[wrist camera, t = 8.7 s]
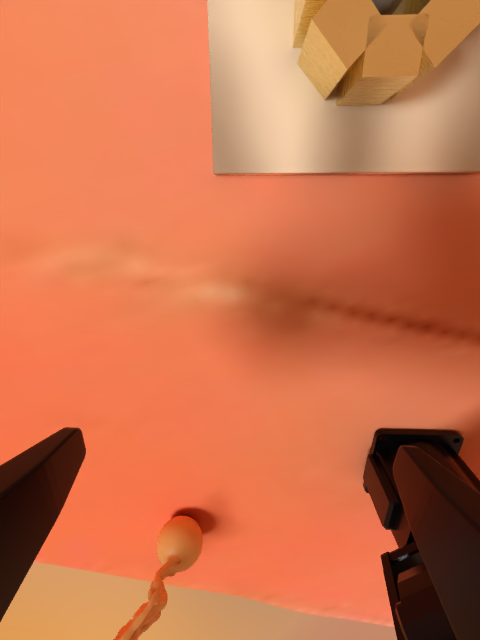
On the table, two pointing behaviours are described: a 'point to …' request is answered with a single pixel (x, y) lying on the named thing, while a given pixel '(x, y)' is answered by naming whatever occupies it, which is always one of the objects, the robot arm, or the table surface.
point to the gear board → (330, 105)
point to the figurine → (166, 571)
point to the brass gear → (376, 44)
